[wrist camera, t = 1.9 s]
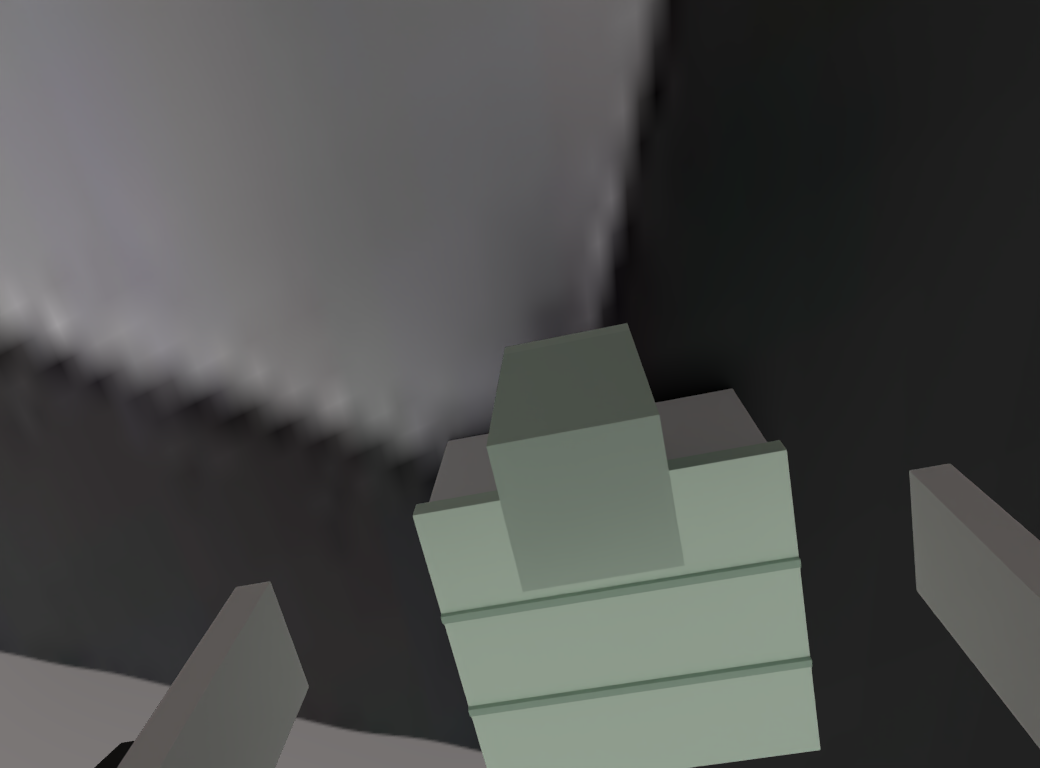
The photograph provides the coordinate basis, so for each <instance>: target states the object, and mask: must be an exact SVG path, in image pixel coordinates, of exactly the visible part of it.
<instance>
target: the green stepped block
mask: <svg viewBox="0 0 1040 768" xmlns="http://www.w3.org/2000/svg"><path fill="white" fill-rule="evenodd" d="M486 447H487V451H488V455H489V459H490V463H491V467H492V471H493V475H494V479H495V483H496V487H497V490H495V491H489V492H484V493H478V494H472V495H467V496H461V497H455V498H450V499H444V500H438V501H433V502H427V503H421V504H416V507H415V510H414V513H413V519H414V522H415V526H416V529H417V532H418V536H419V539H420V543H421V546H422V549H423V553H424V556H425V560H426V563H427V566H428V570H429V573H430V577H431V580H432V583H433V587H434V590H435V594H436V597H437V600H438V604H439V607H440V611H441V620H442V623H443V624H445V628H446V631H447V634H448V638H449V641H450V644H451V648H452V651H453V655H454V658H455V661H456V665H457V668H458V672H459V675H460V678H461V682H462V685H463V689H464V692H465V695H466V699H467V702H468V706H469V709H468V711H469V715H470V717H472V719H473V723H474V726H475V729H476V733H477V736H478V740H479V743H480V746H481V750H482V753H483V757H484V760H485V763H486V766H487V768H690V767H697V766H705V765H712V764H719V763H727V762H734V761H742V760H749V759H756V758H764V757H771V756H779V755H786V754H794V753H801V752H808V751H816V750H820V742H819V733H818V724H817V715H816V707H815V698H814V689H813V680H812V671H811V667H812V660H811V658H810V653H809V644H808V635H807V626H806V617H805V609H804V600H803V591H802V582H801V573H800V567H801V560H800V558H799V555H798V546H797V537H796V528H795V520H794V511H793V502H792V493H791V484H790V475H789V466H788V457H787V450H786V448H785V447H784V445H783V444H782V442H781V441H780V440H777V441H772V442H766V443H760V444H755V445H749V446H743V447H738V448H732V449H726V450H721V451H715V452H709V453H704V454H698V455H693V456H687V457H681V458H676V459H670V460H667V457H666V451H665V445H664V439H663V433H662V427H661V421H660V415H659V412H658V409H657V406H656V404H655V401H654V398H653V395H652V392H651V389H650V386H649V384H648V381H647V378H646V375H645V372H644V369H643V367H642V364H641V361H640V358H639V355H638V352H637V350H636V347H635V344H634V341H633V338H632V335H631V333H630V330H629V327H628V324H627V323H625V324H620V325H615V326H610V327H605V328H600V329H595V330H590V331H585V332H580V333H575V334H569V335H564V336H559V337H554V338H549V339H544V340H539V341H534V342H529V343H524V344H519V345H513V346H508V347H505V349H504V355H503V360H502V365H501V371H500V376H499V381H498V387H497V392H496V397H495V403H494V408H493V413H492V419H491V424H490V429H489V435H488V440H487V445H486Z"/></svg>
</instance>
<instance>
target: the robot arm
mask: <svg viewBox="0 0 1040 768" xmlns="http://www.w3.org/2000/svg"><path fill="white" fill-rule="evenodd" d="M909 474H910V490H911V506H912V523H913V539H914V555H915V571H916V588H917V591H918V593H919V594H920V595H921V597H922V598H923V599H924V600H925V602H926V603H927V604H928V606H929V607H930V608H931V609H932V611H933V612H934V613H935V615H936V616H937V617H938V618H939V620H940V621H941V622H942V624H943V625H944V626H945V627H946V629H947V630H948V631H949V633H950V634H951V635H952V636H953V638H954V639H955V640H956V642H957V643H958V644H959V645H960V647H961V648H962V649H963V651H964V652H965V653H966V654H967V656H968V657H969V658H970V660H971V661H972V662H973V663H974V665H975V666H976V667H977V669H978V670H979V671H980V672H981V674H982V675H983V676H984V677H985V679H986V680H987V681H988V683H989V684H990V685H991V686H992V688H993V689H994V690H995V692H996V693H997V694H998V695H999V697H1000V698H1001V699H1002V701H1003V702H1004V703H1005V704H1006V706H1007V707H1008V708H1009V710H1010V711H1011V712H1012V713H1013V715H1014V716H1015V717H1016V719H1017V720H1018V721H1019V722H1020V724H1021V725H1022V726H1023V728H1024V729H1025V730H1026V731H1027V733H1028V734H1029V735H1030V737H1031V738H1032V739H1033V740H1034V742H1035V743H1036V744H1037V746H1038V747H1039V748H1040V541H1039V540H1038V539H1037V538H1036V537H1035V536H1033V535H1032V534H1031V533H1030V532H1029V531H1028V530H1026V529H1025V528H1024V527H1023V526H1022V525H1021V524H1020V523H1018V522H1017V521H1016V520H1015V519H1014V518H1013V517H1011V516H1010V515H1009V514H1008V513H1007V512H1006V511H1004V510H1003V509H1002V508H1001V507H1000V506H999V505H998V504H996V503H995V502H994V501H993V500H992V499H991V498H989V497H988V496H987V495H986V494H985V493H984V492H982V491H981V490H980V489H979V488H978V487H977V486H975V485H974V484H973V483H972V482H971V481H970V480H969V479H967V478H966V477H965V476H964V475H963V474H962V473H960V472H959V471H958V470H957V469H956V468H955V467H953V466H952V465H951V464H944V465H939V466H933V467H927V468H921V469H916V470H910V471H909ZM308 687H309V686H308V683H307V680H306V678H305V675H304V672H303V669H302V667H301V664H300V661H299V658H298V656H297V653H296V650H295V648H294V645H293V642H292V639H291V637H290V634H289V631H288V628H287V626H286V623H285V620H284V618H283V615H282V612H281V609H280V607H279V604H278V601H277V598H276V596H275V593H274V590H273V588H272V585H271V582H270V581H269V582H263V583H258V584H252V585H246V586H240V587H236V588H235V590H234V591H233V593H232V594H231V596H230V597H229V599H228V600H227V602H226V603H225V605H224V606H223V608H222V609H221V611H220V612H219V614H218V615H217V617H216V618H215V620H214V621H213V623H212V624H211V626H210V627H209V629H208V631H207V632H206V634H205V635H204V637H203V638H202V640H201V641H200V643H199V644H198V646H197V647H196V649H195V650H194V652H193V653H192V655H191V656H190V658H189V659H188V661H187V662H186V664H185V665H184V667H183V668H182V670H181V671H180V673H179V674H178V676H177V678H176V679H175V681H174V682H173V684H172V685H171V687H170V688H169V690H168V691H167V693H166V694H165V696H164V697H163V699H162V700H161V702H160V703H159V705H158V706H157V708H156V709H155V711H154V712H153V714H152V715H151V717H150V718H149V720H148V722H147V723H146V725H145V726H144V728H143V729H142V731H141V732H140V734H139V735H138V737H137V738H136V740H135V741H131V742H124V743H121V744H120V745H118V747H116V748H115V749H114V750H113V751H112V752H111V753H110V754H109V755H108V756H107V757H105V758H104V759H103V760H102V761H101V762H100V763H99V764H98V765H97V766H96V767H95V768H275V767H276V764H277V762H278V759H279V757H280V754H281V752H282V750H283V747H284V745H285V743H286V740H287V738H288V735H289V733H290V730H291V728H292V726H293V723H294V721H295V719H296V716H297V714H298V711H299V709H300V707H301V704H302V702H303V699H304V697H305V695H306V692H307V690H308Z"/></svg>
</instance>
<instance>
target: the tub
mask: <svg viewBox="0 0 1040 768" xmlns="http://www.w3.org/2000/svg"><path fill="white" fill-rule="evenodd" d="M655 404H656V406H657V409H658V412H659V415H660V421H661V427H662V433H663V439H664V445H665V451H666V457H667V460H670V459H676V458H681V457H687V456H693V455H698V454H704V453H709V452H715V451H721V450H726V449H732V448H738V447H743V446H749V445H755V444H760V443H766V440H765V438H764V437H763V435H762V434H761V432H760V431H759V429H758V428H757V426H756V424H755V423H754V421H753V420H752V418H751V417H750V415H749V414H748V412H747V410H746V409H745V407H744V406H743V404H742V403H741V401H740V400H739V398H738V396H737V395H736V393H735V392H734V390H733V389H727V390H721V391H716V392H710V393H705V394H700V395H694V396H689V397H683V398H678V399H673V400H667V401H662V402H656V403H655ZM488 435H489V434H484V435H478V436H473V437H467V438H462V439H457V440H451V441H448V442H447V446H446V449H445V452H444V456H443V459H442V462H441V465H440V469H439V472H438V475H437V479H436V482H435V485H434V488H433V492H432V495H431V498H430V501H429V502H433V501H438V500H444V499H450V498H455V497H461V496H467V495H472V494H478V493H484V492H489V491H495V490H497V487H496V483H495V479H494V475H493V471H492V467H491V463H490V459H489V455H488V451H487V447H486V445H487V440H488Z"/></svg>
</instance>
